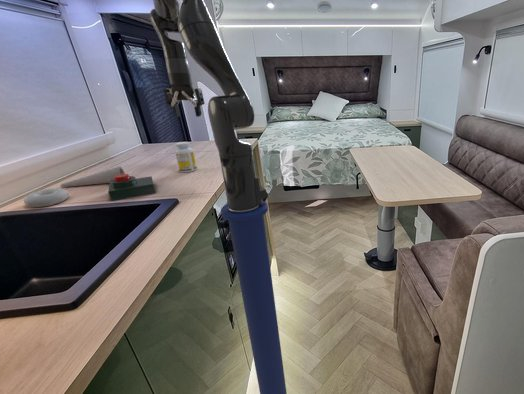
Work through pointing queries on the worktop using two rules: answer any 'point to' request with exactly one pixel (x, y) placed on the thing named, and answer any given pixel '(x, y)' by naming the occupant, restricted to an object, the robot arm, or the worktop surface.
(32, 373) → the worktop surface
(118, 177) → the button
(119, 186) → the control block
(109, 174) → the long tapered cone
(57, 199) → the donut
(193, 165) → the pill bottle
